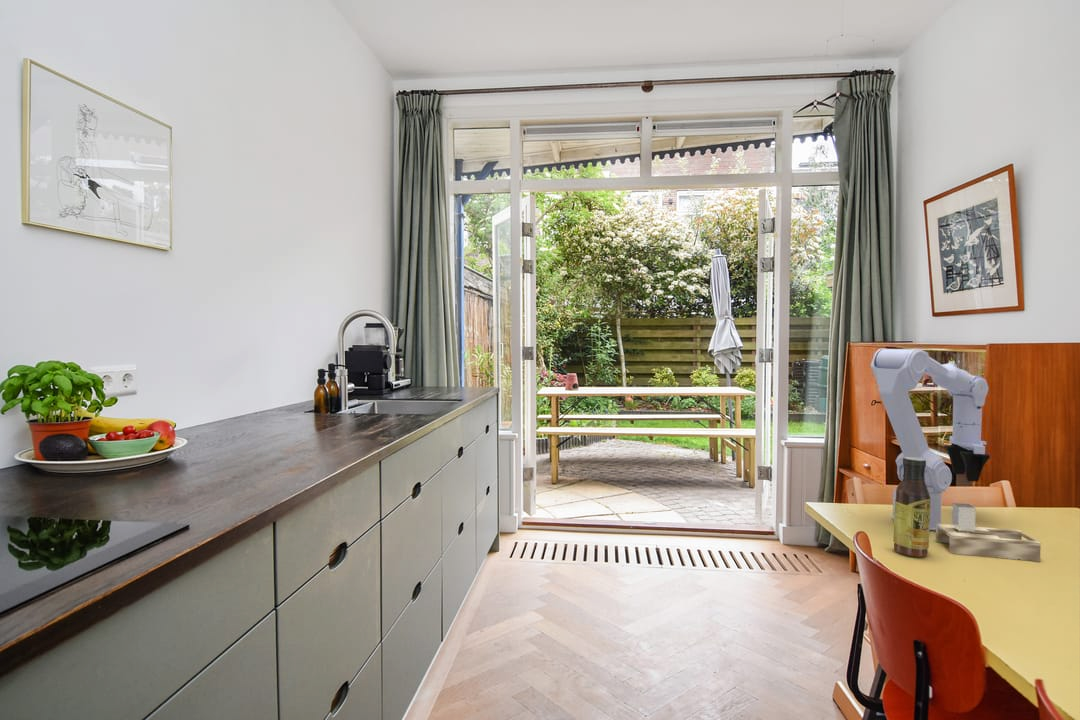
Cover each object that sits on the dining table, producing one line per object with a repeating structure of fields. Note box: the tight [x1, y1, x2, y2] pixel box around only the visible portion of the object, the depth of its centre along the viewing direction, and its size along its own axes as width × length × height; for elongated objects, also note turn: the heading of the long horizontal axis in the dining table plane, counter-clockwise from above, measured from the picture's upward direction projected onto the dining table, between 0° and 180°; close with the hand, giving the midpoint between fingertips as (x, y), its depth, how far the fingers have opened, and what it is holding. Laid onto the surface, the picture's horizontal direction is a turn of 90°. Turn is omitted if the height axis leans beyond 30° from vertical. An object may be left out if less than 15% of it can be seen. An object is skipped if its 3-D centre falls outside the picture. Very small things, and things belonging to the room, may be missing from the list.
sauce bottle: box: [892, 457, 931, 558], centre depth 119 cm, size 6×6×20 cm
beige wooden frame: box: [935, 523, 1042, 562], centre depth 121 cm, size 16×8×4 cm, turn 74°
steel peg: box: [951, 502, 976, 533], centre depth 122 cm, size 4×4×9 cm
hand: (965, 477), depth 142 cm, fingers open, 7 cm apart
